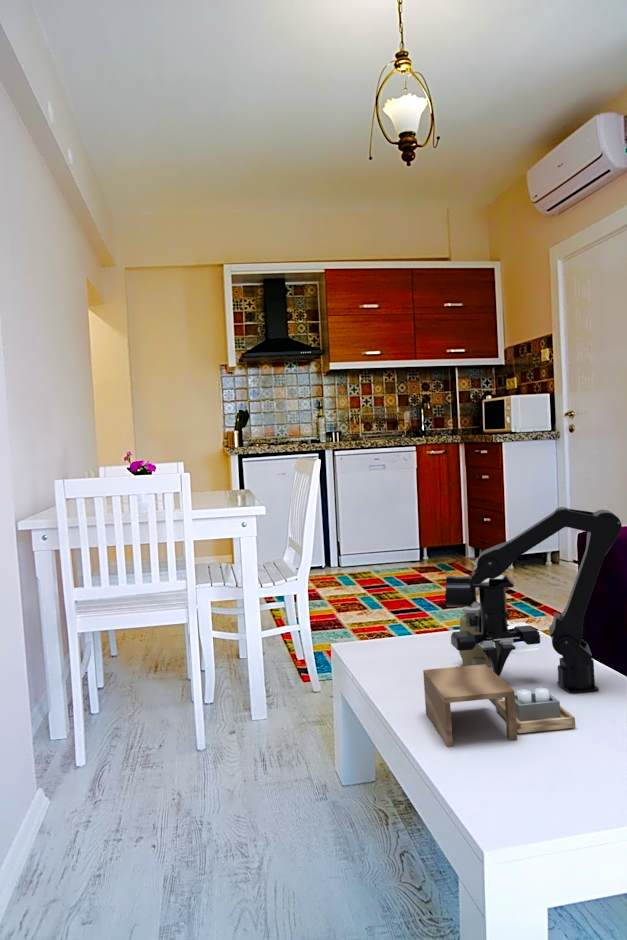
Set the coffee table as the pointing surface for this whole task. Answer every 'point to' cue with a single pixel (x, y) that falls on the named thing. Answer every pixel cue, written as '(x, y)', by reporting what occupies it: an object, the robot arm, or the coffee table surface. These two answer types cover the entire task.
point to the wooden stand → (464, 695)
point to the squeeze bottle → (476, 651)
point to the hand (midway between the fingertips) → (497, 675)
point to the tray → (536, 705)
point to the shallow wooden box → (532, 725)
